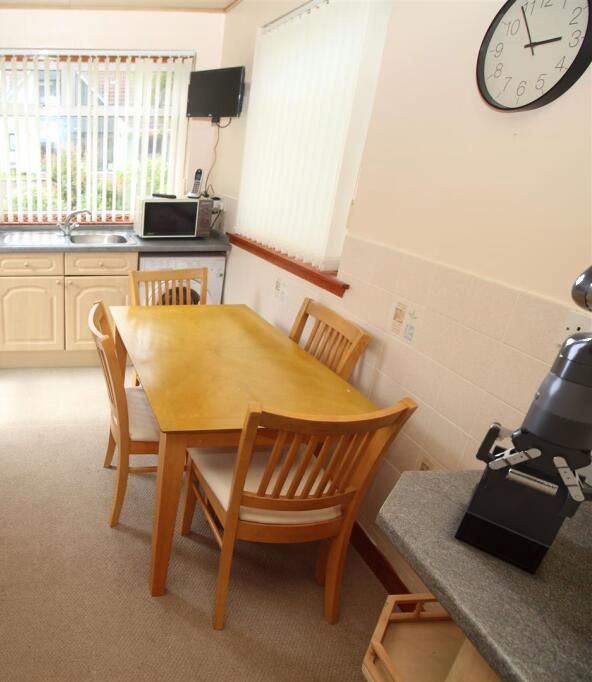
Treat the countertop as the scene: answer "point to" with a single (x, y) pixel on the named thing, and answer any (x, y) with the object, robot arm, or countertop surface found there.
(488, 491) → the warmer lid
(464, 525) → the box
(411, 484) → the countertop surface
